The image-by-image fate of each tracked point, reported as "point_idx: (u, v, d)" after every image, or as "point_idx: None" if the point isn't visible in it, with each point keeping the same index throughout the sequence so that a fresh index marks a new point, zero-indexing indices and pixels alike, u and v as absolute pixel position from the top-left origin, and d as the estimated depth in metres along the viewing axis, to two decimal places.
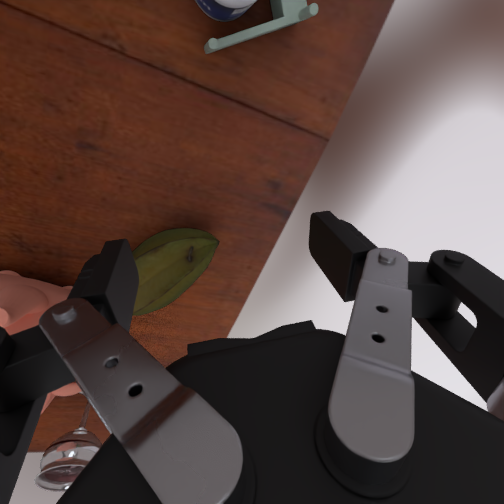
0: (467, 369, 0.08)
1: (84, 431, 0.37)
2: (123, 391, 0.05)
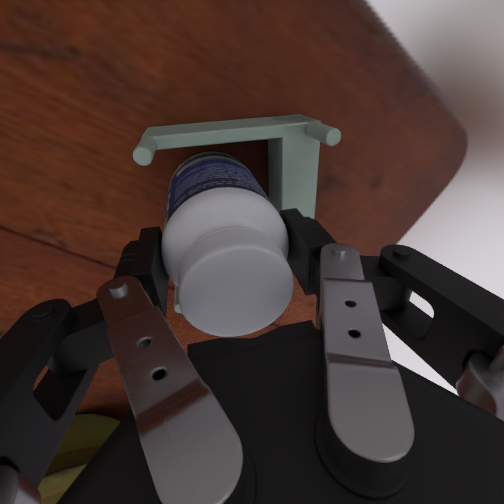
0: (429, 356, 0.08)
1: None
2: (148, 372, 0.05)
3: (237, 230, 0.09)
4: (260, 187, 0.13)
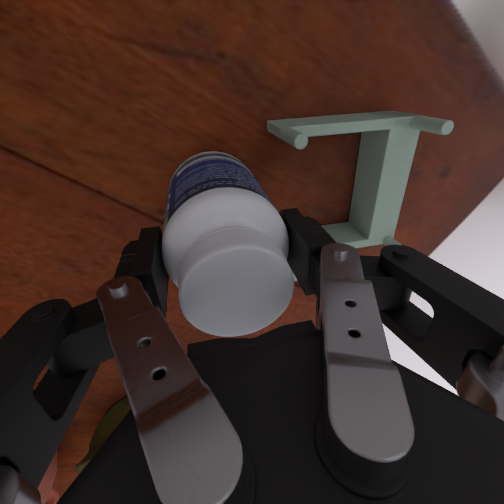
0: (429, 356, 0.08)
1: None
2: (148, 372, 0.05)
3: (237, 230, 0.09)
4: (260, 187, 0.13)
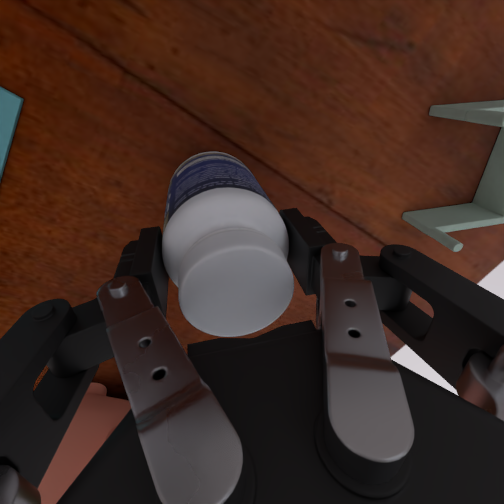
0: (429, 356, 0.08)
1: None
2: (148, 372, 0.05)
3: (237, 230, 0.09)
4: (260, 187, 0.13)
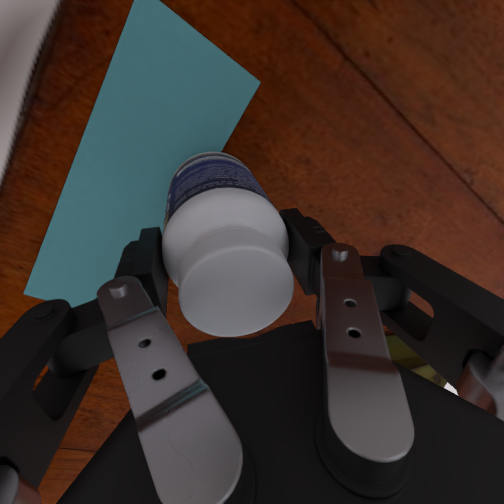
0: (429, 356, 0.08)
1: None
2: (148, 372, 0.05)
3: (237, 230, 0.09)
4: (260, 187, 0.13)
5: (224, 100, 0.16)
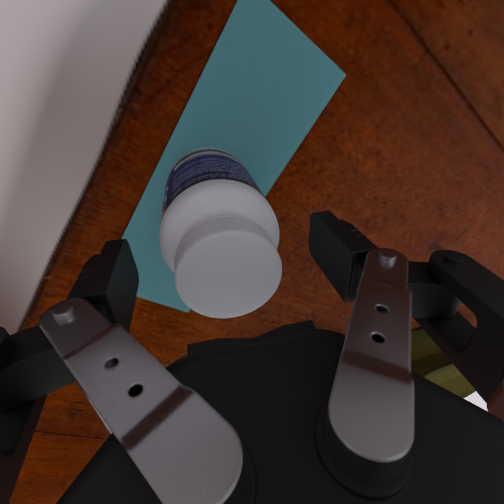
0: (467, 369, 0.08)
1: None
2: (123, 391, 0.05)
3: (229, 217, 0.10)
4: (253, 180, 0.14)
5: (310, 92, 0.17)
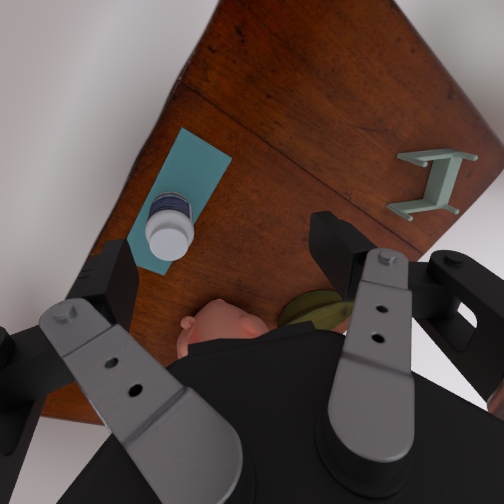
0: (467, 369, 0.08)
1: None
2: (123, 391, 0.05)
3: (168, 224, 0.30)
4: (185, 208, 0.34)
5: (216, 166, 0.36)
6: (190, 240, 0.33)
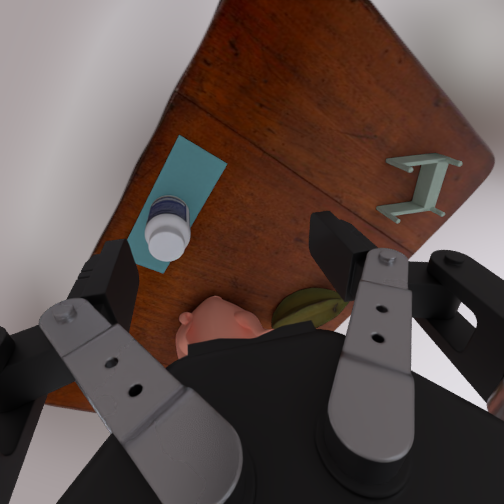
0: (467, 369, 0.08)
1: None
2: (123, 391, 0.05)
3: (166, 227, 0.32)
4: (182, 211, 0.36)
5: (212, 171, 0.38)
6: (187, 242, 0.35)
